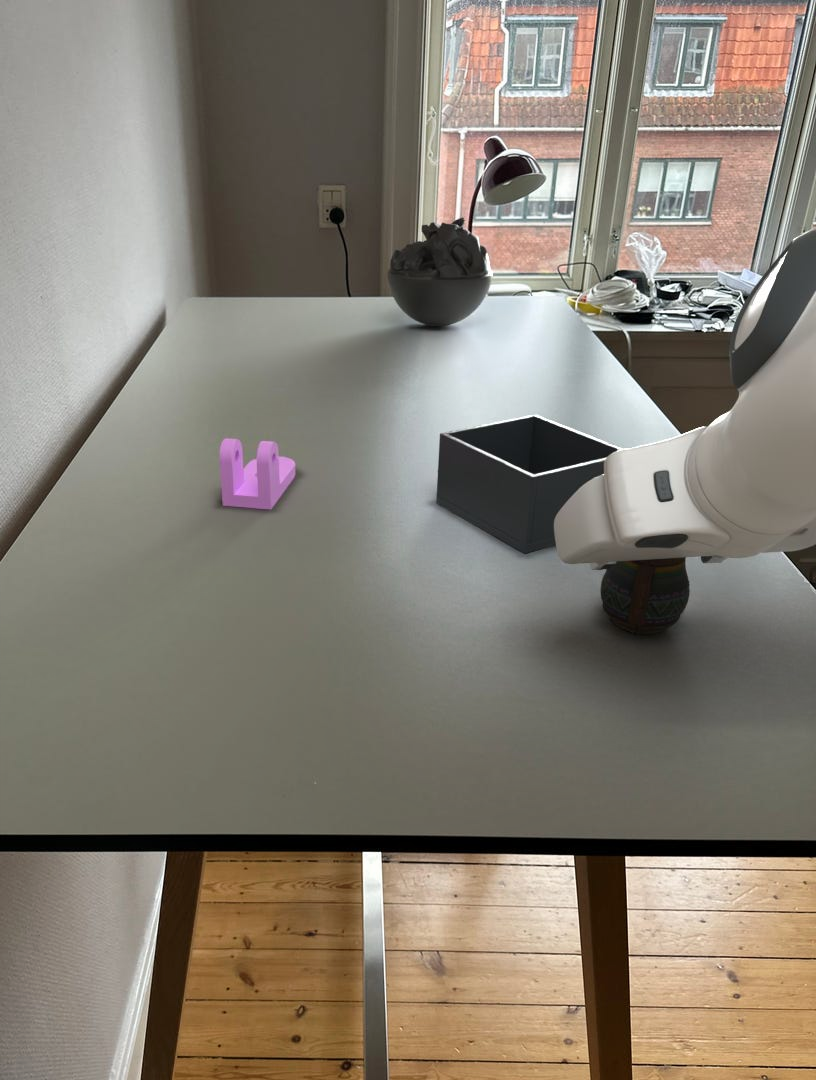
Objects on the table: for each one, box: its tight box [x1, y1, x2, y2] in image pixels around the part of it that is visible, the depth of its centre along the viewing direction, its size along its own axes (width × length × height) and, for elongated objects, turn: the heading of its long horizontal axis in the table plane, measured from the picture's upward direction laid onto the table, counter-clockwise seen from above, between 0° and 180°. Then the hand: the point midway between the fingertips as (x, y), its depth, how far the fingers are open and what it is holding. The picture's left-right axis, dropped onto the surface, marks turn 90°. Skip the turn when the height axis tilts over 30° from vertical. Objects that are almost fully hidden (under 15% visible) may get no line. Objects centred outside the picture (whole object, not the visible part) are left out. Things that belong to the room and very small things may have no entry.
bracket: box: [218, 438, 296, 511], centre depth 105 cm, size 13×6×7 cm, turn 168°
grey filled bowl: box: [387, 217, 494, 327], centre depth 175 cm, size 20×20×19 cm
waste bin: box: [435, 414, 623, 554], centre depth 97 cm, size 13×15×8 cm
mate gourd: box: [600, 557, 691, 636], centre depth 76 cm, size 7×8×10 cm
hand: (653, 557), depth 75 cm, fingers open, 8 cm apart
